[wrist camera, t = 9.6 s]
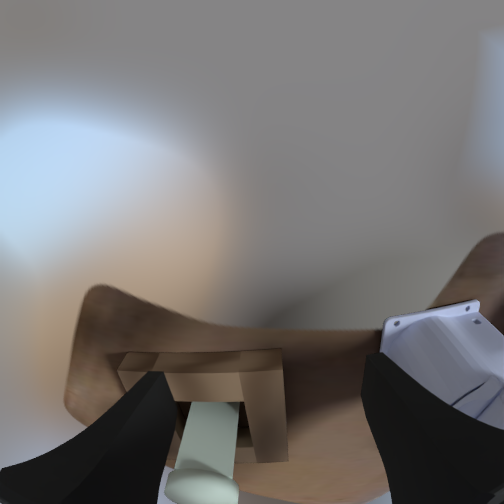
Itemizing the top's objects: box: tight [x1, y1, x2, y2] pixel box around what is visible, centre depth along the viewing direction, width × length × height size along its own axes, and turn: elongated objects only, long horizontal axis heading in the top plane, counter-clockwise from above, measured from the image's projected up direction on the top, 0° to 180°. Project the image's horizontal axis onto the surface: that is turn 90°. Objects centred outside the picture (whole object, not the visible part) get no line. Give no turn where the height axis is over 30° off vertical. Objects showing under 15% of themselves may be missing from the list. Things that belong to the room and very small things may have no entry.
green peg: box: [164, 402, 240, 504], centre depth 19 cm, size 5×5×10 cm
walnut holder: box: [117, 348, 289, 463], centre depth 23 cm, size 12×12×2 cm
